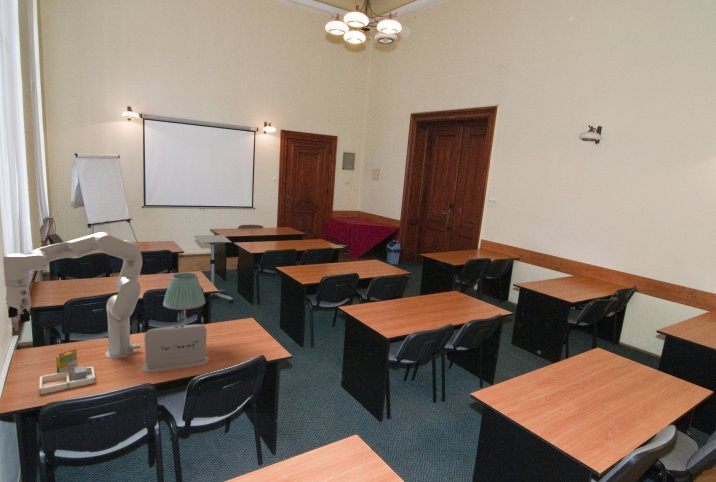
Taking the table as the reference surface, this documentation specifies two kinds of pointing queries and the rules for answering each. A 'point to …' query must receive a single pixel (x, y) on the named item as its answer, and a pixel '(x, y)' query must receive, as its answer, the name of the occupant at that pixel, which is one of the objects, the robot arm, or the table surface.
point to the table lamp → (184, 294)
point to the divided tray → (64, 381)
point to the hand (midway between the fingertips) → (19, 319)
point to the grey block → (80, 373)
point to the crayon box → (66, 361)
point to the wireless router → (175, 347)
